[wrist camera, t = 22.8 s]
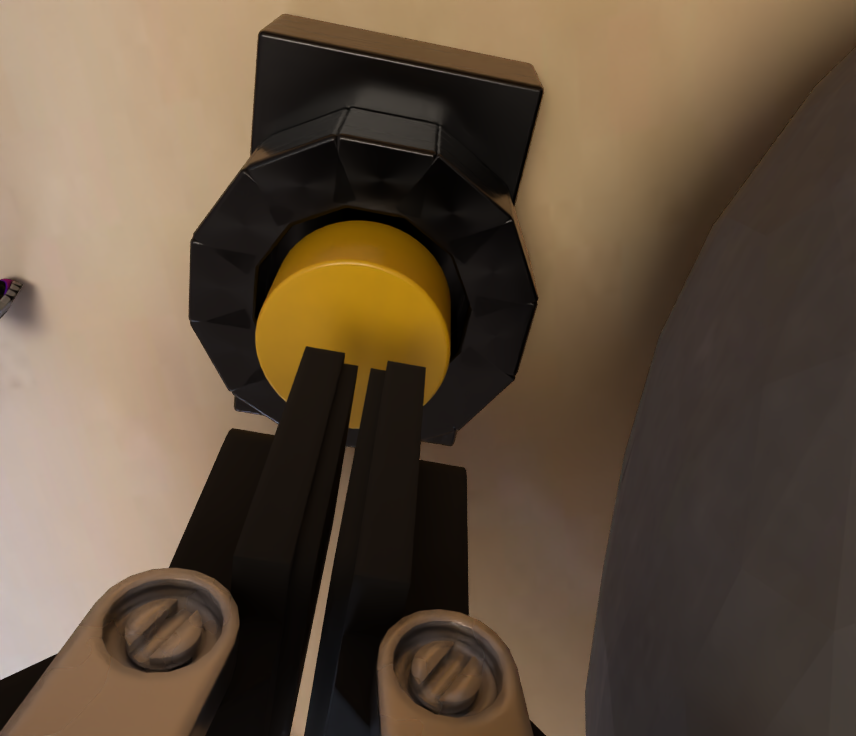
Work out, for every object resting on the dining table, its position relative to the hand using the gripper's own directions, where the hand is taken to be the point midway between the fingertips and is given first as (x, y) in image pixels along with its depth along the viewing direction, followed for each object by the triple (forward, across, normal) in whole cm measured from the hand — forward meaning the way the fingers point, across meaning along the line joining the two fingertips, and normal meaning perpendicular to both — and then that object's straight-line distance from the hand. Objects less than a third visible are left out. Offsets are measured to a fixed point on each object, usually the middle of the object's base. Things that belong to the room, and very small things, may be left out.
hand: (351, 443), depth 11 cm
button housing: (+7, 0, 0) cm, 7 cm away
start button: (+4, 0, 0) cm, 4 cm away
